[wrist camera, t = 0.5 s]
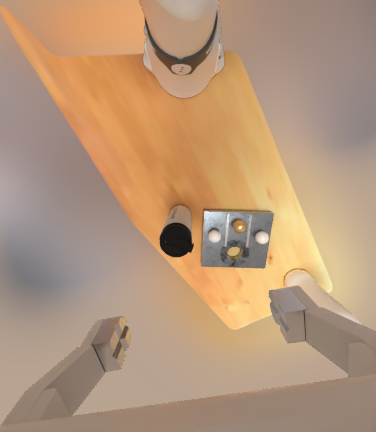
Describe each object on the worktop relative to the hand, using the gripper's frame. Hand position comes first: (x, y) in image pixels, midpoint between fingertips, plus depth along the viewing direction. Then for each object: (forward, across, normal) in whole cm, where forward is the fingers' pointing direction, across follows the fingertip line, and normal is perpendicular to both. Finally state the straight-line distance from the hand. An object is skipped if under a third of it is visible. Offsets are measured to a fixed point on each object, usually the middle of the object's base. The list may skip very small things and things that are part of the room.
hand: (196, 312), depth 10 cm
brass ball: (+38, -11, +11) cm, 41 cm away
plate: (+42, -10, +16) cm, 46 cm away
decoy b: (+38, -4, +12) cm, 40 cm away
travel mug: (+43, +4, +5) cm, 43 cm away
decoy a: (+38, -17, +15) cm, 44 cm away
